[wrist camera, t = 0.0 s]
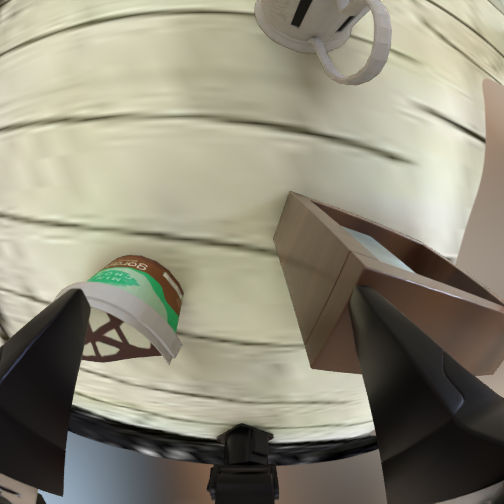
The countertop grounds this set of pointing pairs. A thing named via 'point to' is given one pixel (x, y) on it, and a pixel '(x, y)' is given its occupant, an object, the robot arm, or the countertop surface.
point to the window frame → (380, 287)
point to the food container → (131, 311)
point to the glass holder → (326, 30)
